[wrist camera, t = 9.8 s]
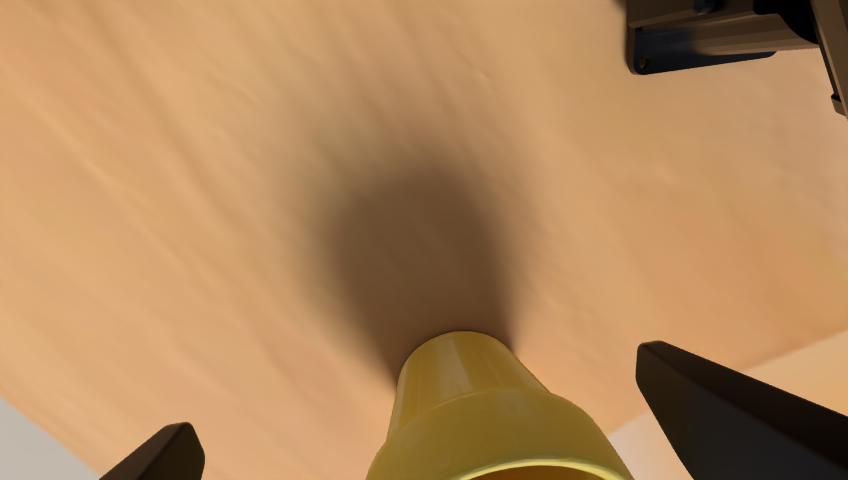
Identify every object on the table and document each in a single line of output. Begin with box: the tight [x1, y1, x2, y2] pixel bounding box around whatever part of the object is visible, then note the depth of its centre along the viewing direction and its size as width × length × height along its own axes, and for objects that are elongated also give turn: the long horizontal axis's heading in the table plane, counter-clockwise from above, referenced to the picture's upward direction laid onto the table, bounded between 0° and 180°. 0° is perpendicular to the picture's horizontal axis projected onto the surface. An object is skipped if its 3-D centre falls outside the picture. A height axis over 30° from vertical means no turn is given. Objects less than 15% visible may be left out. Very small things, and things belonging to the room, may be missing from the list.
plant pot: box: [366, 331, 634, 480], centre depth 19 cm, size 10×10×10 cm
